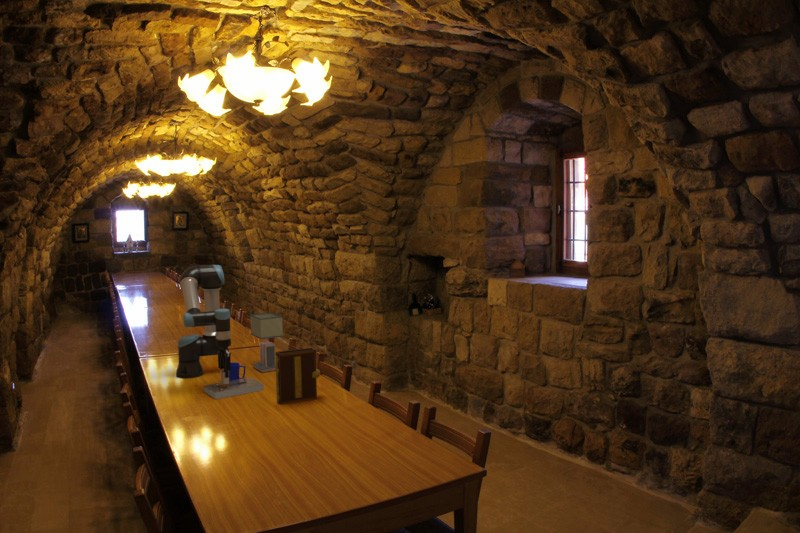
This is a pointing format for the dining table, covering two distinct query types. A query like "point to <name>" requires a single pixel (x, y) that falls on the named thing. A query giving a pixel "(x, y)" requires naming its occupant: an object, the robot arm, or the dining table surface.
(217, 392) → the keyhole plate
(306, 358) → the book
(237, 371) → the mug
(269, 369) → the desk lamp
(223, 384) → the headed peg
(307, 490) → the dining table surface
